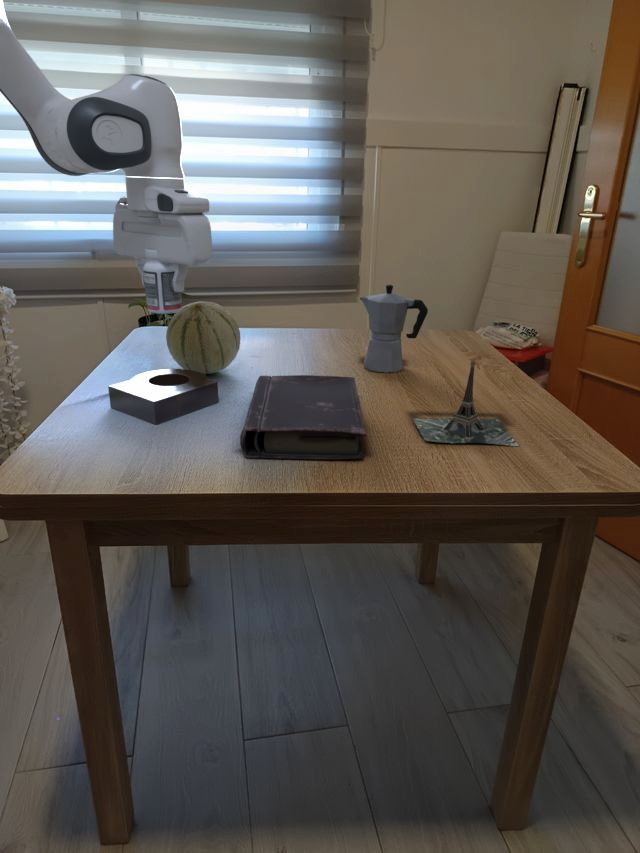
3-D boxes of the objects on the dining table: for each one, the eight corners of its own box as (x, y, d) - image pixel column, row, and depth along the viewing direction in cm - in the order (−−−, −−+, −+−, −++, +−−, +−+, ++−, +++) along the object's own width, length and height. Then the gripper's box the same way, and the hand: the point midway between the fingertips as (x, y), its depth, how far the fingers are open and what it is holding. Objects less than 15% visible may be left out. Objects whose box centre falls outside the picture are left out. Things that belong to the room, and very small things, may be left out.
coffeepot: (347, 367, 126) (351, 284, 119) (364, 357, 134) (370, 279, 127) (413, 379, 120) (422, 292, 113) (428, 368, 127) (437, 286, 120)
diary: (239, 459, 82) (239, 426, 80) (255, 399, 105) (255, 373, 103) (369, 462, 82) (372, 430, 80) (357, 402, 105) (358, 376, 104)
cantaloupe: (235, 361, 128) (234, 293, 122) (246, 381, 115) (244, 306, 109) (167, 364, 124) (162, 294, 118) (170, 385, 111) (164, 307, 105)
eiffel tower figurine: (498, 421, 99) (510, 346, 94) (519, 446, 90) (534, 363, 84) (412, 420, 98) (419, 344, 93) (424, 445, 89) (434, 361, 84)
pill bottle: (183, 307, 99) (179, 247, 95) (181, 314, 94) (177, 251, 90) (148, 307, 98) (143, 247, 94) (145, 314, 93) (139, 250, 89)
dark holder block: (155, 425, 92) (154, 401, 91) (104, 405, 100) (102, 383, 98) (225, 400, 104) (224, 379, 103) (174, 384, 112) (173, 364, 110)
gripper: (98, 196, 92) (108, 283, 98) (184, 201, 81) (190, 299, 87) (131, 196, 97) (139, 279, 102) (217, 201, 86) (220, 294, 91)
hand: (163, 288), depth 94 cm, fingers closed on pill bottle, 5 cm apart
